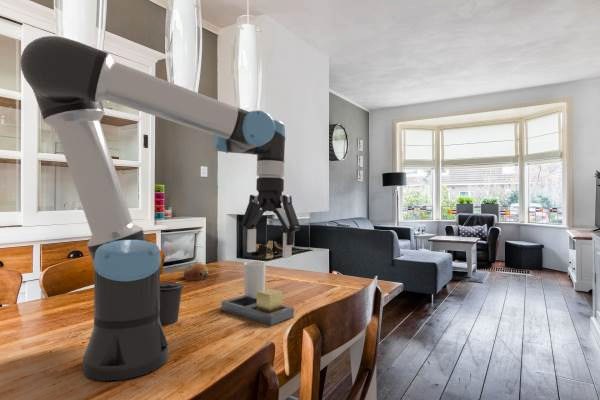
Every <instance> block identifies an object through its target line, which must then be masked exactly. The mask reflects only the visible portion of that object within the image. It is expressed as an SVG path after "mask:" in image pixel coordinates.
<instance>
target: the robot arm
mask: <svg viewBox="0 0 600 400" xmlns="http://www.w3.org/2000/svg"><path fill="white" fill-rule="evenodd" d="M19 64H20V69H21V72H22V75H23V77H24V79H25V81H26V83H27V84H28V85H29V86H30V87H31V89H32V92H33V94H34V97H35V99H36V103H37V105H38V108H39V110H40V114H41V117H42V119H43V122H44V123H45V124H46V125H49V126H50V127H52V128H54V129H55V132H56V134H57V137H58V140H59V143H60V146H61V148H62V151H63V155H64V157H65V160H66V163H67V166H68V169H69V173H70V176H71V178H72V180H73V184H74V186H75V189H76V193H77V195H78V198H79V200H80V204H81V207H82V209H83V212H84V215H85V218H86V221H87V223H88V227H89V230H90V233H91V237H90V238H89V241H88V242H87V245H86V246H87V249H88V252H89V255H90V257H91V259H92V260H91V261H92V262H93V263H92V264H93V268H94V284H93V286H94V287H93V290H94V293H93V294H94V295H93V301H94V303H93V330H92V332H91V336H90V338H89V341H88V344H87V346H86V349H85V352H84V354H83V357H82V373H83V375H84V376H85V377H86V378H88V379H91V380H94V381H101V382H102V381H104V382H113V381H112V380H117V381H125V380H130V379H133V377H135V378H137V376H138V377H140V376H141V375H142V376H144V374H145V375H147V374H149V372H150V373H151V371H152V372H154V371H156V370H158V369H159V368H161V367H162V366H164V365H165V363H167V362H168V359H169V343H168V340H167V336H166V335H165V332H164V329H163V325H161V323H160V283H161V264H162V257H161V250H160V247H159V246H158V245H157V244H156V243H155V242H151V241H147V239H146V236H145V233H144V229H143V228H142V227H141V226H139V225H137V224H135V222H133V218H132V217H131V213H130V211H129V210H130V209H129V207H128V205H127V204H128V203H127V201H126V198H125V194H124V191H123V188H122V185H121V182H120V179H119V176H118V173H117V171H116V168H115V167H116V166H115V163H114V160H113V157H112V155H111V151H110V148H109V146H108V143H107V140H106V136H105V134H104V130H103V127H102V123H101V120H102V118H103V117H104V115H105V113H106V112H105V110H104V106H103V103H102V102H103V101H108V102H111V103H114V104H118V105H121V106H123V107H127V108H130V109H133V110H136V111H139V112H143V113H145V114H147V115H152V116H155V117H158V118H159V119H164V120H167V121H170V122H173V123H176V124H179V125H181V126H182V125H183V126H186V127H188V128H191V129H195V130H198V131H201V132H204V133H207V134H210V135H212V145H213V148H214V150H215V151H217V152H220V153H221V152H222V153H226V154H228V153H230V154H231V153H232V154H245V155H246V154H247V155H252V156H253V155H254V156H255V155H256V176H257V178H256V191H257V193H258V194H250V195H249V197H248V198H249V199H248V204H247V206H246V210H245V212H244V215H243V216H242V220H241V223H240V226H241V227H244V228H245V230H246V233H245V234H246V235H245V236H246V237H245V238H246V239H245V240H246V241H247V242H246V252H247V253H256V251H257V228H256V226H257V224H258V222H259V221H260V220H261V218H262V216H263V215H264V213H266V212H273V213H274V214H275V215H276V217H277V219H278V220H279V222H280V224H281V226H282V228H283V229H284V232H283V233H282V259H288V258H292V255H293V254H292V253H293V249H292V247H293V245H294V243H295V241H294V240H295V239H294V238H295V237H294V236H295V232H297V231H300V230H301V226H300V223H299V219H298V217H297V214H296V211H295V209H294V208H295V207H294V205H293V201H292V200H293V199H292V197H293V196H292V195H290V194H283V192H284V191H285V190H284V189H285V188H284V187H285V180H284V178H283V177H284V176H285V151H286V150H285V148H286V147H285V146H286V145H285V144H286V129H285V128H286V127H285V123H284V122H282V121H280V120H278V119H273V118H272V116H271V115H270V114H269V113H268V112H266V111H264V110H252V111H247V110H245V109H243V108H240V107H236V106H234V105H232V104H228V103H227V102H224V101H220V100H218V99H215V98H212V97H210V96H207V95H204V94H202V93H199V92H197V91H194V90H191V89H189V88H187V87H184V86H181V85H178V84H175V83H173V82H170V81H167V80H164V79H162V78H159V77H157V76H155V75H152V74H149V73H146V72H144V71H141V70H138V69H135V68H133V67H130V66H127V65H126V64H122V63H120V62H117V61H115V60H114V58H113V56H112V54H110V53H109V52H106V51H103V50H100V49H98V48H96V47H93V46H92V45H91V46H90V45H88V44H85V43H82V42H79V41H77V40H73V39H70V38H67V37H62V36H56V35H47V36H42V37H38V38H35V39H34V40H32V41H31V42H29V43H28V44H26V46H25V48H24V49H23V51H22V53H21V55H20V62H19ZM157 368H158V369H157ZM129 378H130V379H129ZM124 379H125V380H124ZM106 380H107V381H106ZM109 380H111V381H109Z"/></svg>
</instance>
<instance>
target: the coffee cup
mask: <svg viewBox="0 0 600 400" xmlns="http://www.w3.org/2000/svg"><path fill="white" fill-rule="evenodd" d="M183 289H184V285H183V283H179V282H175V281H167V282H166V281H165V282H160V323H161V326H167V325H173V324H176V323H177V322H178V321H179V315H180V306H181V298H182V290H183Z"/></svg>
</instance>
